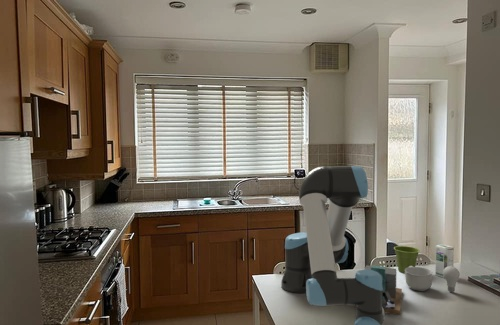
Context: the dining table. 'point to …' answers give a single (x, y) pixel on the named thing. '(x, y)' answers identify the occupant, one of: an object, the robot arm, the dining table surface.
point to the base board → (397, 303)
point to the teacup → (418, 278)
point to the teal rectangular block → (381, 271)
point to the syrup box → (443, 258)
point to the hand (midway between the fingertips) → (378, 285)
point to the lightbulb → (451, 277)
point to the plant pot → (406, 257)
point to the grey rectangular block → (388, 280)
